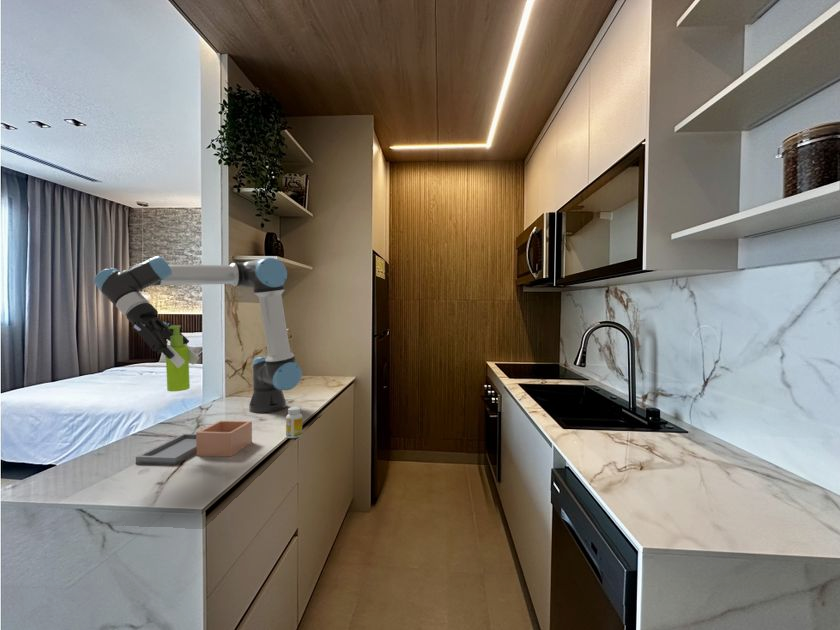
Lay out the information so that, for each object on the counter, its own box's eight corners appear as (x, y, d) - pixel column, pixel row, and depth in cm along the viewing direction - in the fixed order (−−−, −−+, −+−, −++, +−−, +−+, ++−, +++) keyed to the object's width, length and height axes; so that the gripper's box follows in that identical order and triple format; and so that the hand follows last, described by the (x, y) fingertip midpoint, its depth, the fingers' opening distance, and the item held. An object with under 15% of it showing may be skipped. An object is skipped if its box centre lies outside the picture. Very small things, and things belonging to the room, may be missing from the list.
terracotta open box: (220, 441, 128) (219, 420, 127) (252, 442, 127) (251, 421, 127) (196, 455, 116) (196, 432, 115) (231, 456, 115) (231, 433, 115)
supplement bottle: (284, 438, 130) (283, 410, 130) (288, 433, 135) (287, 406, 135) (300, 438, 130) (300, 410, 130) (303, 433, 136) (303, 406, 136)
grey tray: (183, 439, 130) (183, 433, 130) (217, 440, 129) (217, 434, 129) (135, 463, 110) (135, 456, 110) (175, 464, 109) (175, 457, 109)
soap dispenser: (163, 392, 114) (160, 326, 113) (171, 387, 121) (168, 324, 120) (185, 391, 116) (182, 326, 115) (192, 386, 123) (189, 324, 121)
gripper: (153, 317, 129) (200, 366, 128) (102, 319, 110) (157, 377, 109) (168, 301, 128) (215, 350, 127) (119, 301, 109) (175, 358, 108)
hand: (188, 362), depth 118 cm, fingers closed on soap dispenser, 6 cm apart
